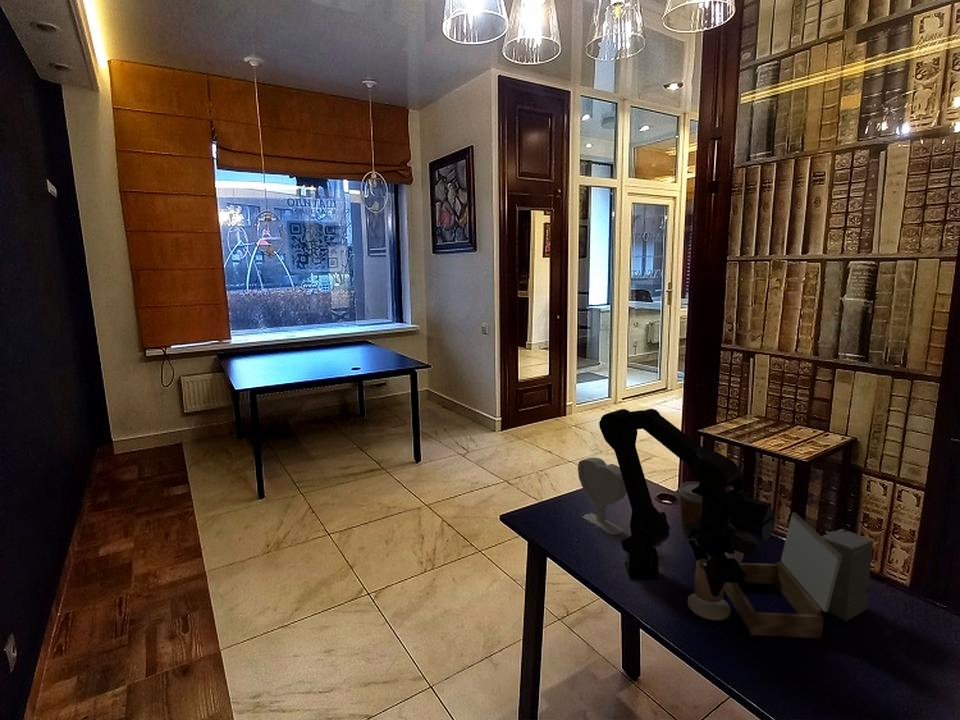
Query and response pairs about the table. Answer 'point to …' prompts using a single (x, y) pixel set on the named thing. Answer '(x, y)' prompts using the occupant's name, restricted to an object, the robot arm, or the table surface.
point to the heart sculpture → (601, 489)
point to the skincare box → (850, 573)
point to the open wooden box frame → (777, 623)
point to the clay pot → (704, 583)
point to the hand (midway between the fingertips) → (709, 586)
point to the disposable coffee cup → (689, 503)
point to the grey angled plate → (811, 561)
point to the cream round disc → (709, 608)
